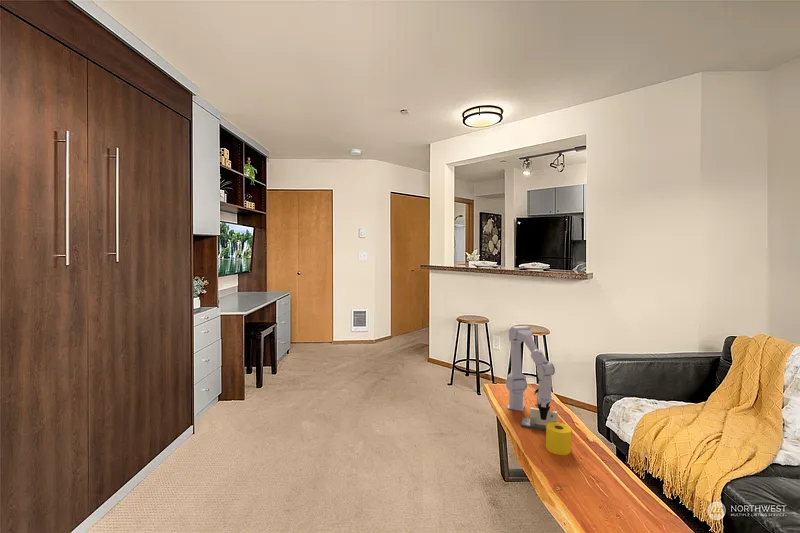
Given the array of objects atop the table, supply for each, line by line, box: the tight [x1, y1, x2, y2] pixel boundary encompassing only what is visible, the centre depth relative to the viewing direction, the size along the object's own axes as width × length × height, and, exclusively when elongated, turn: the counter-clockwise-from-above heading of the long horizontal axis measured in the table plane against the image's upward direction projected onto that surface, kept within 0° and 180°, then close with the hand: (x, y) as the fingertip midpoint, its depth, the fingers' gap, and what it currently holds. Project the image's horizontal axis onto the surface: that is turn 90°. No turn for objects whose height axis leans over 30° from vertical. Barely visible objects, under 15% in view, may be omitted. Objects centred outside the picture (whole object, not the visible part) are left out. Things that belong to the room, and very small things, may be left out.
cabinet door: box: [529, 407, 558, 426], centre depth 191 cm, size 2×12×7 cm, turn 67°
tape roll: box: [545, 421, 573, 456], centre depth 171 cm, size 10×10×9 cm
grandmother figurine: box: [533, 383, 541, 407], centre depth 216 cm, size 8×4×13 cm, turn 68°
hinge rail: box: [520, 417, 555, 432], centre depth 191 cm, size 8×20×4 cm, turn 67°
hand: (543, 416), depth 191 cm, fingers open, 7 cm apart
